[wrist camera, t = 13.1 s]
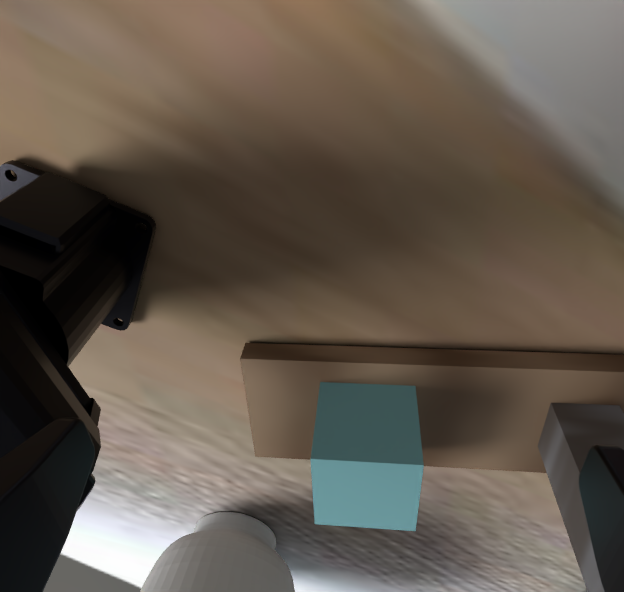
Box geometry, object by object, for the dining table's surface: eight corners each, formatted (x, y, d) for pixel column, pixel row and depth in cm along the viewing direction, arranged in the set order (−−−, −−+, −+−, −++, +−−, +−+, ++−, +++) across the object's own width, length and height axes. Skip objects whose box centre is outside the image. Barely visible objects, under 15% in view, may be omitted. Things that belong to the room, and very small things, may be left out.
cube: (322, 445, 26) (314, 524, 23) (320, 382, 24) (310, 459, 20) (409, 449, 26) (415, 531, 22) (415, 385, 23) (423, 465, 20)
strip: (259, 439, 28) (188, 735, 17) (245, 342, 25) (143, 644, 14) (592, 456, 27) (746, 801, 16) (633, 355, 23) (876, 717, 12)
